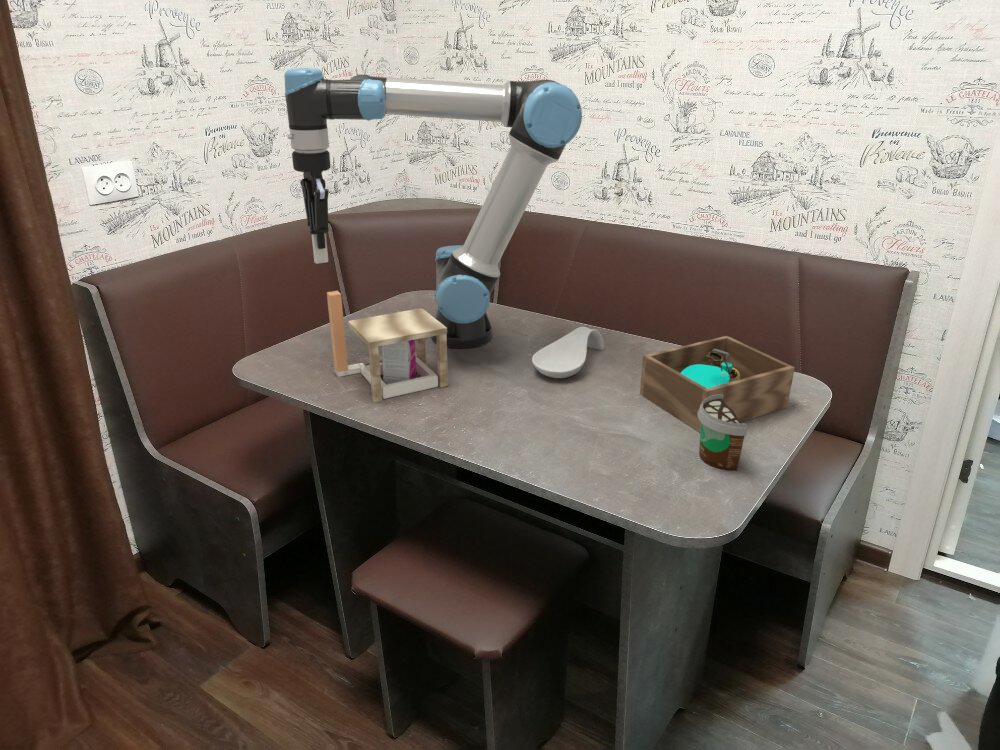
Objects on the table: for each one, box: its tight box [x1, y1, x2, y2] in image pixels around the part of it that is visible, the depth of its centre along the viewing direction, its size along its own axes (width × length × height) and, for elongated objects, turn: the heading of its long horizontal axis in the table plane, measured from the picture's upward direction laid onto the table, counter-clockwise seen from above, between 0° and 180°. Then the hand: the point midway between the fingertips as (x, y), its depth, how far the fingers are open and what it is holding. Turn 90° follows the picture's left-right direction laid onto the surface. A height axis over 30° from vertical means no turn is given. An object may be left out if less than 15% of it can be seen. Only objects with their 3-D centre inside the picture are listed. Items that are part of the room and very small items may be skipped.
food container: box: [697, 394, 748, 472], centre depth 132 cm, size 12×6×10 cm, turn 5°
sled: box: [326, 290, 439, 400], centre depth 160 cm, size 18×17×19 cm
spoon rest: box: [531, 326, 605, 379], centre depth 170 cm, size 24×12×7 cm, turn 146°
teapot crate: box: [639, 335, 796, 434], centre depth 153 cm, size 23×19×9 cm
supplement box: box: [381, 339, 417, 385], centre depth 161 cm, size 6×6×12 cm
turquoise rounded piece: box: [681, 349, 740, 388], centre depth 151 cm, size 14×18×15 cm
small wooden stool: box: [348, 307, 449, 403], centre depth 160 cm, size 17×14×14 cm
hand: (321, 261), depth 162 cm, fingers closed
